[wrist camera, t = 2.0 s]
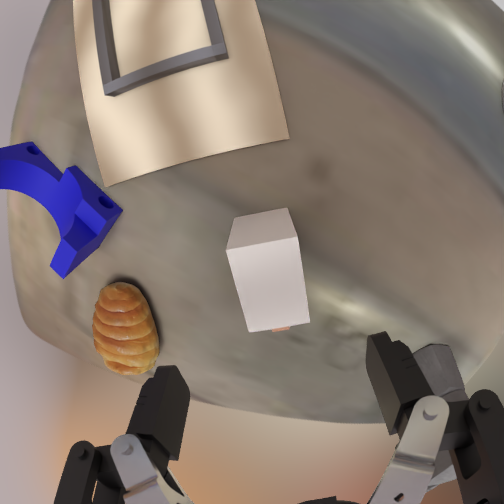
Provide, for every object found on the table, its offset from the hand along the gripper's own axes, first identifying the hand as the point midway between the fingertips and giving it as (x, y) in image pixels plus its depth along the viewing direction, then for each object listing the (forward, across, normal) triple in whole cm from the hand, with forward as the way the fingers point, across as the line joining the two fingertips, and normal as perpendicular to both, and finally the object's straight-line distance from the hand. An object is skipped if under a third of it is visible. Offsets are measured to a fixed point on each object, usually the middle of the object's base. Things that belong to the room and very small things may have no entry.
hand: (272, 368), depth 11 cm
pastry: (+13, +11, +4) cm, 18 cm away
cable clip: (+13, +16, -9) cm, 22 cm away
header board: (+12, +4, -18) cm, 22 cm away
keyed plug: (+12, 0, 0) cm, 12 cm away
